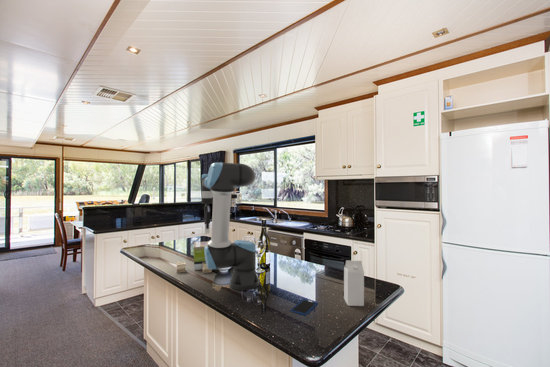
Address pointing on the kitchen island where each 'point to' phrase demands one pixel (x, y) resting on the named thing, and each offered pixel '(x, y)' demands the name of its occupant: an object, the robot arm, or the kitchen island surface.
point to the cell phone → (304, 307)
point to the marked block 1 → (181, 267)
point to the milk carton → (354, 283)
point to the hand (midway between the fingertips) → (207, 233)
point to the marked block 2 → (205, 268)
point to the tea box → (199, 254)
